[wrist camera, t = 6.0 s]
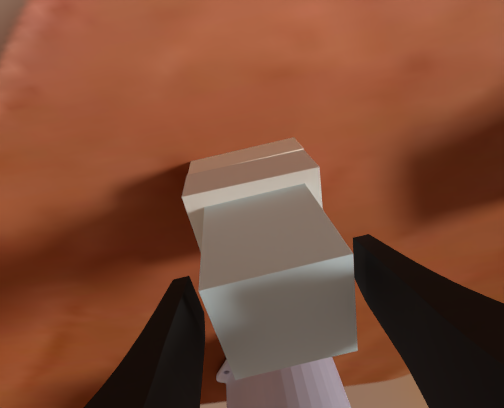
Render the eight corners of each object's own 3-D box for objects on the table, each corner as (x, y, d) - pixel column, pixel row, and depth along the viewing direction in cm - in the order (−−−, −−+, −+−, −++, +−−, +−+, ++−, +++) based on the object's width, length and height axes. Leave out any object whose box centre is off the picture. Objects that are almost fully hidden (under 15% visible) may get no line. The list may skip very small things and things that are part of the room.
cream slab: (303, 221, 19) (315, 242, 17) (217, 241, 19) (217, 265, 17) (292, 135, 17) (303, 148, 14) (191, 158, 17) (187, 175, 14)
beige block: (313, 243, 17) (327, 271, 15) (215, 265, 17) (216, 296, 15) (303, 149, 14) (319, 166, 12) (186, 174, 14) (181, 196, 12)
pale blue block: (314, 261, 15) (357, 350, 10) (229, 281, 15) (235, 379, 10) (304, 183, 12) (352, 253, 8) (204, 207, 12) (198, 290, 8)
